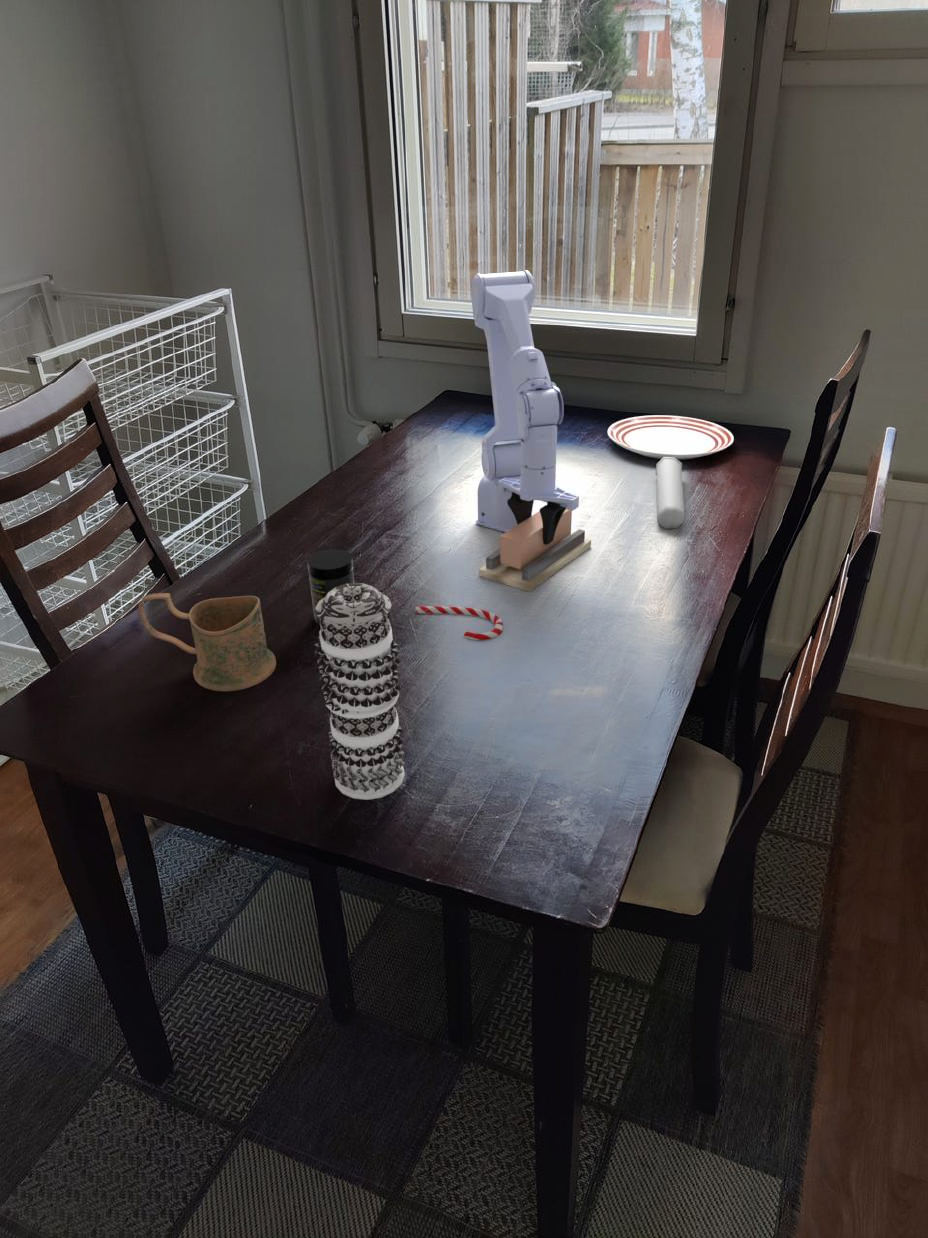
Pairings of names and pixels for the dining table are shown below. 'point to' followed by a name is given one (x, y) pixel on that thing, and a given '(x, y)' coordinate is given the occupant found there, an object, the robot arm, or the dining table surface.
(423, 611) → the candy cane
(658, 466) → the tube
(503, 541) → the clay block
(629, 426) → the dinner plate
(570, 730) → the dining table surface
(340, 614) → the decorative candle
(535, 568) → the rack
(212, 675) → the mug
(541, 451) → the robot arm
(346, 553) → the supplement container
